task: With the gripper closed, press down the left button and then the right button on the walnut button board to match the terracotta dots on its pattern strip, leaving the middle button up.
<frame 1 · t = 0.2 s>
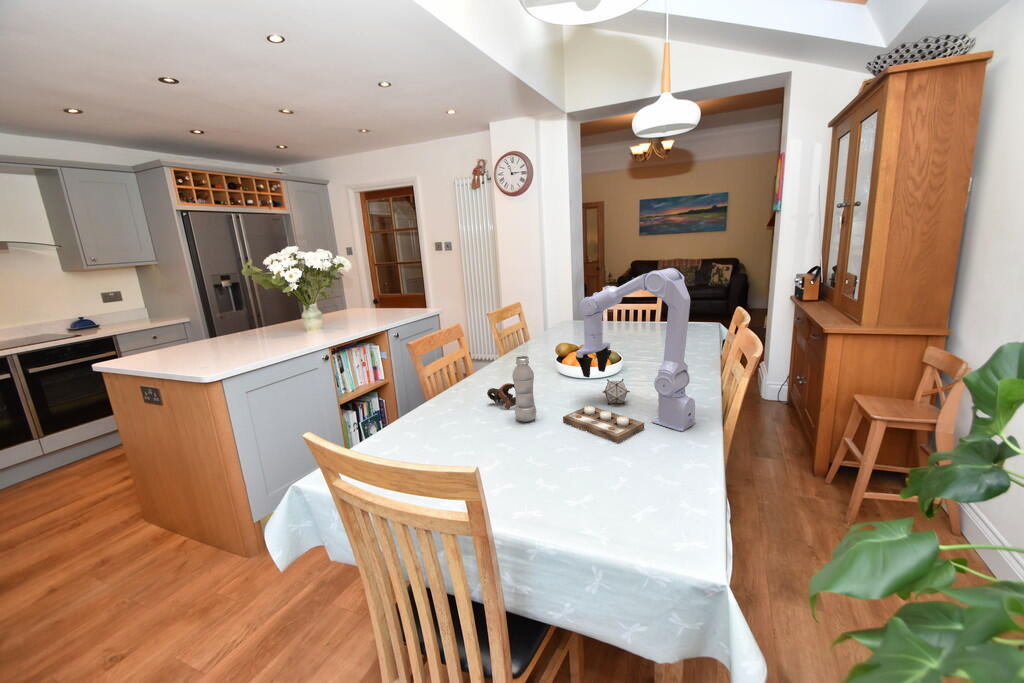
hand: (594, 373, 144), 10 cm above the table, tool pointing down, fingers open, 7 cm apart
game die: (615, 403, 144), on the table
button board: (602, 426, 127), on the table
dark brown twisted loops: (505, 405, 149), on the table
button middle: (605, 416, 128), point 3 cm above the table, slide at 0.0 cm
plastic bottle: (526, 420, 135), on the table
button 1: (589, 411, 132), point 3 cm above the table, slide at 0.0 cm
button 2: (622, 422, 123), point 3 cm above the table, slide at 0.0 cm
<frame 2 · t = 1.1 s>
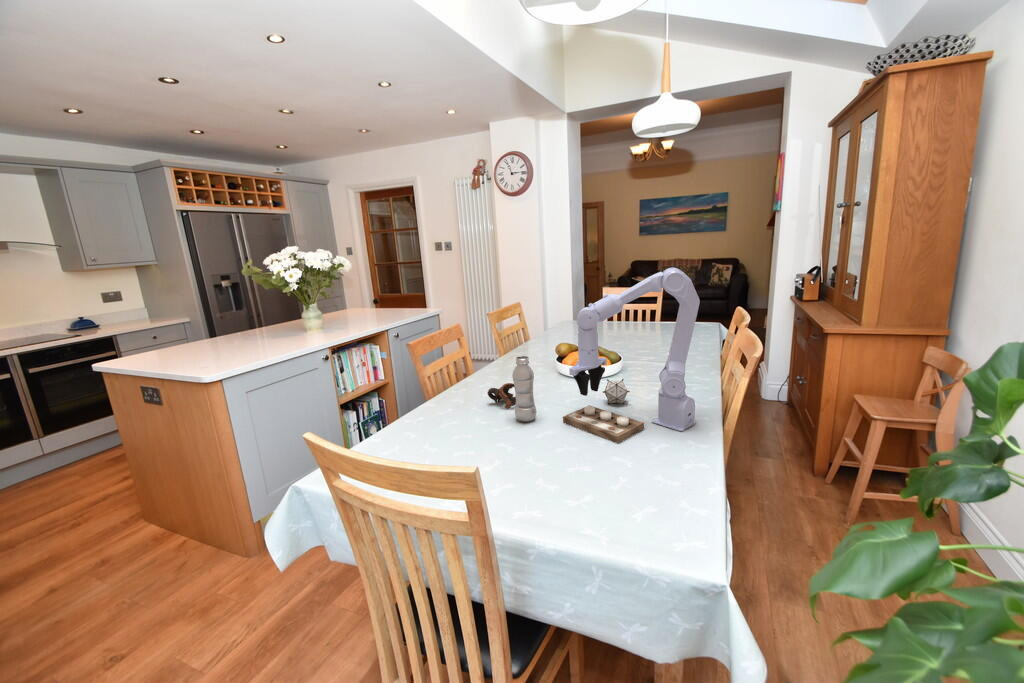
hand: (589, 392, 131), 8 cm above the table, tool pointing down, fingers open, 4 cm apart
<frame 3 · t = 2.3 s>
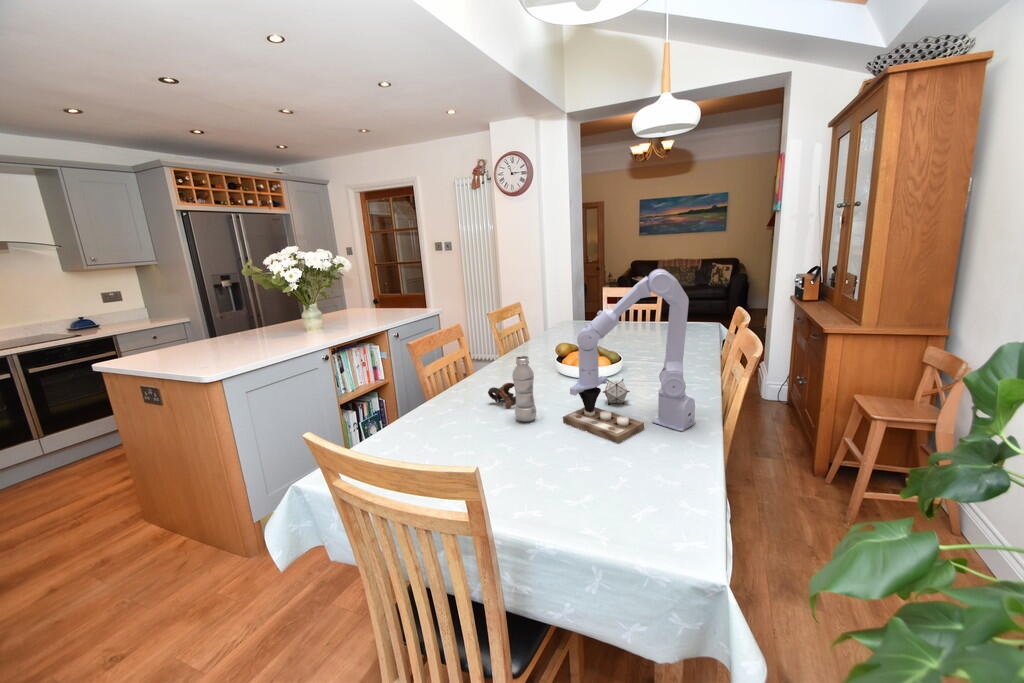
hand: (589, 411, 132), 2 cm above the table, tool pointing down, fingers closed, pressing on button 1
button 1: (589, 414, 132), point 1 cm above the table, slide at 1.0 cm, touching gripper
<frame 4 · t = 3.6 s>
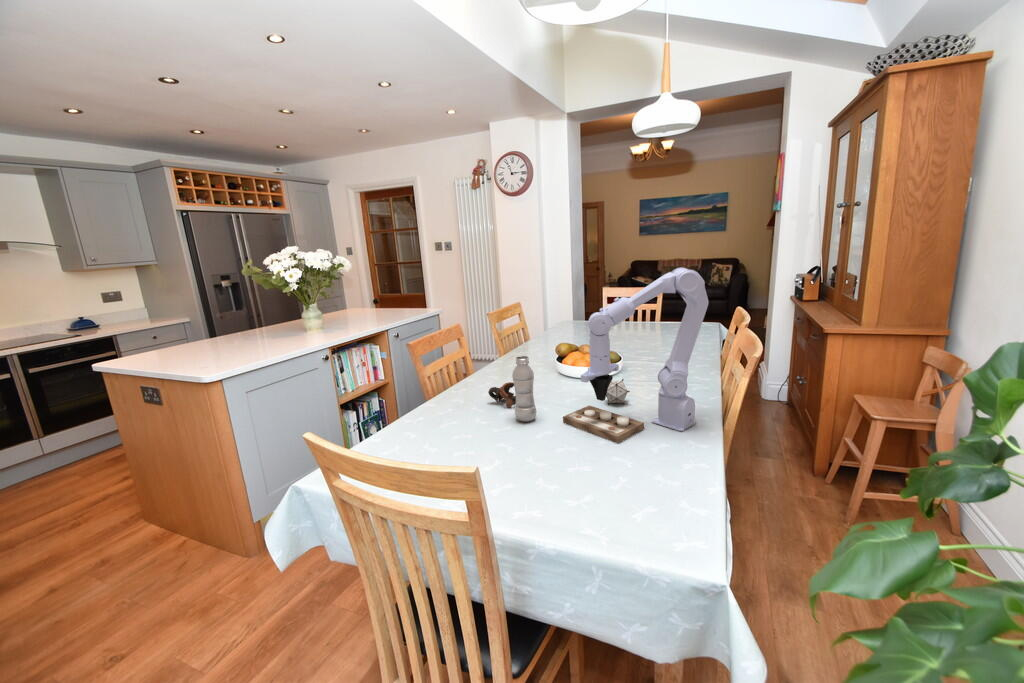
hand: (600, 399, 128), 7 cm above the table, tool pointing down, fingers closed
button 1: (589, 415, 132), point 1 cm above the table, slide at 1.2 cm
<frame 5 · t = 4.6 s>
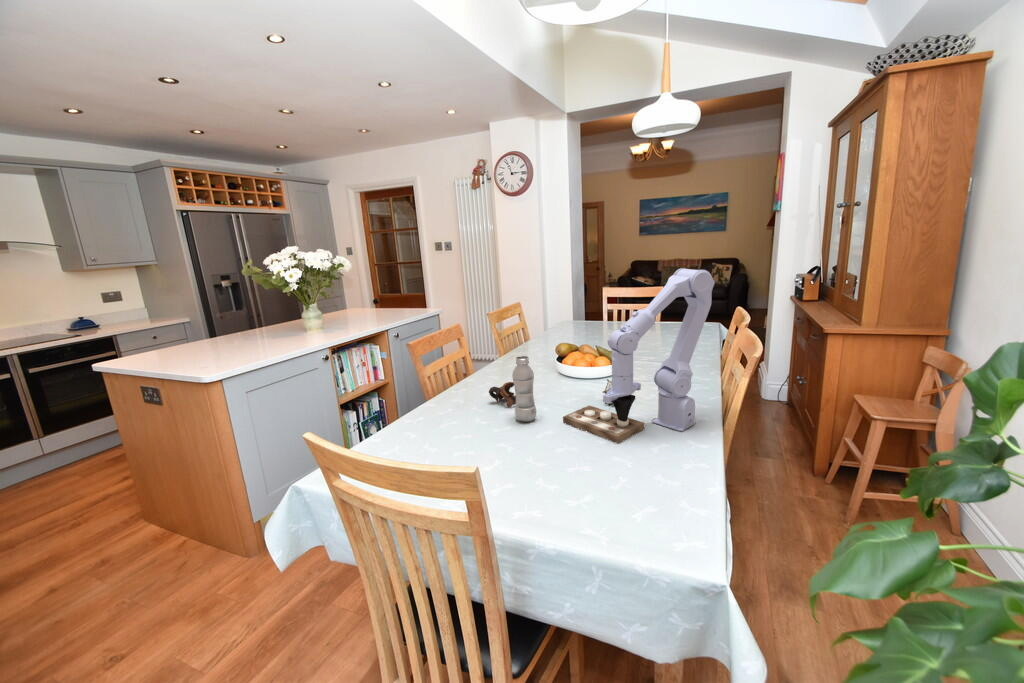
hand: (622, 420, 123), 3 cm above the table, tool pointing down, fingers closed, pressing on button 2
button 2: (622, 423, 123), point 2 cm above the table, slide at 0.4 cm, touching gripper
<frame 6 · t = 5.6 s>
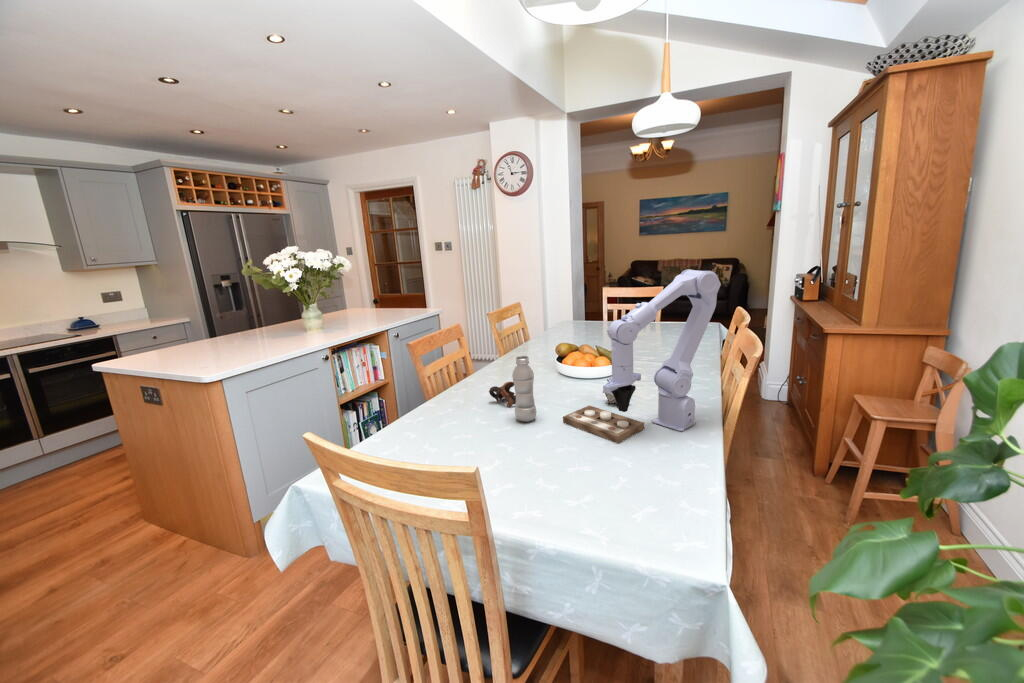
hand: (623, 410, 122), 6 cm above the table, tool pointing down, fingers closed
button 2: (622, 426, 123), point 1 cm above the table, slide at 1.2 cm
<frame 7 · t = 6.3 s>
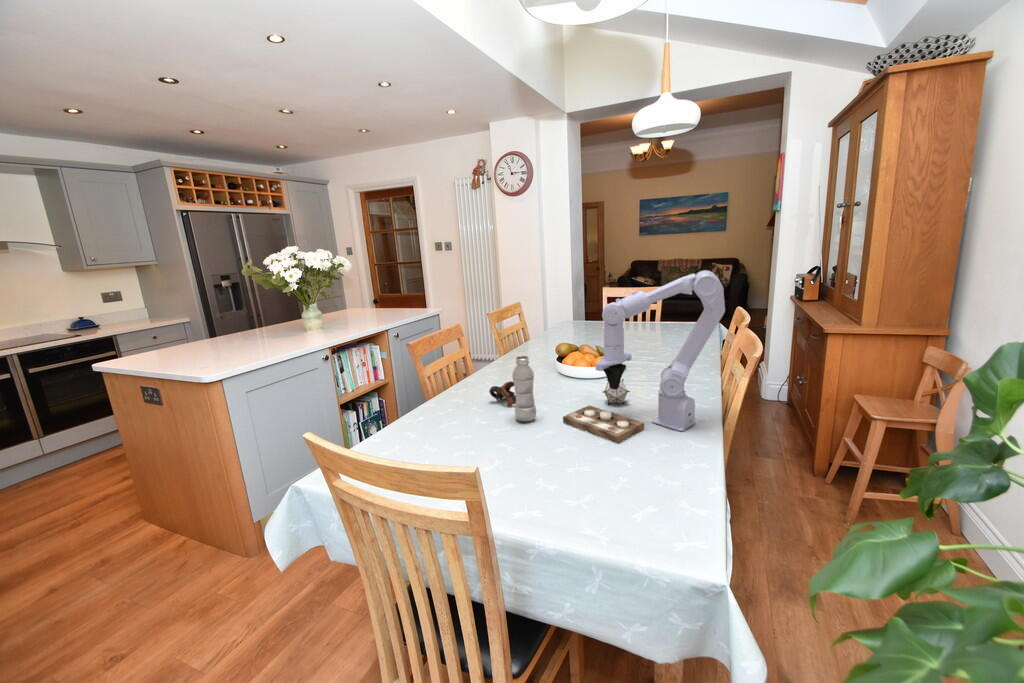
hand: (614, 388, 130), 9 cm above the table, tool pointing down, fingers closed
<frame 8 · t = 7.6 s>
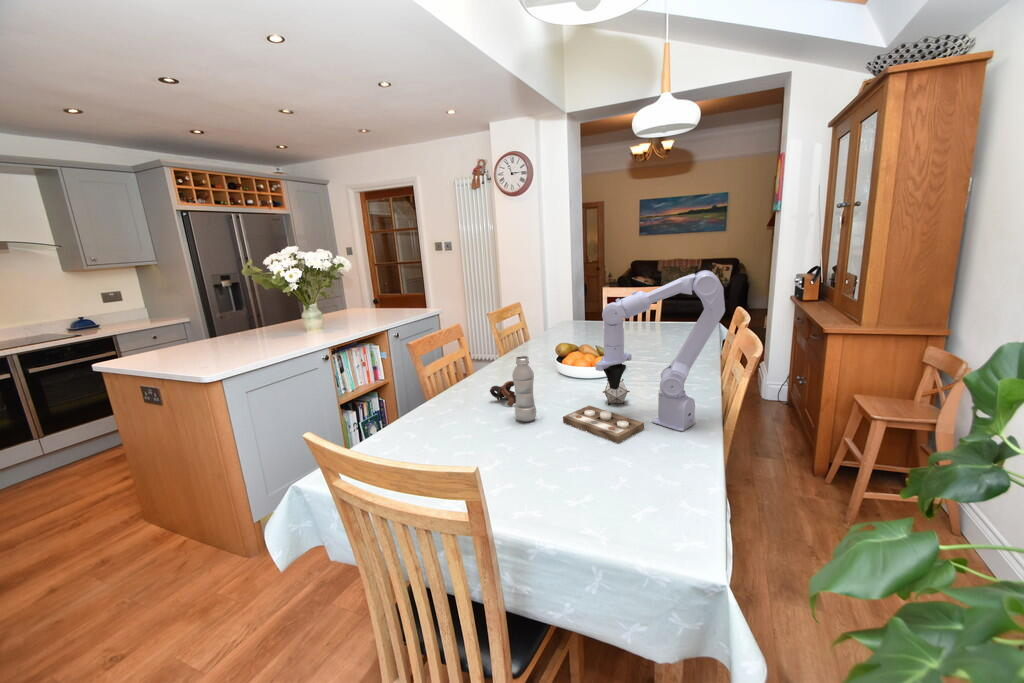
hand: (614, 388, 130), 9 cm above the table, tool pointing down, fingers closed
at the end: button 1 slide at 1.2 cm; button 2 slide at 1.2 cm; button middle slide at 0.0 cm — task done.
